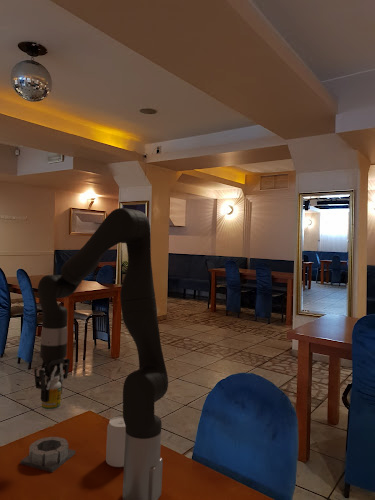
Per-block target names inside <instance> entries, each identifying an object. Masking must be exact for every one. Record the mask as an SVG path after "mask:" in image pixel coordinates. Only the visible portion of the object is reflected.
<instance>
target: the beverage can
mask: <svg viewBox="0 0 375 500" xmlns="http://www.w3.org/2000/svg"><path fill="white" fill-rule="evenodd" d="M125 431H126V426H125V423H124V419H123V416H116V417H113V418H111V419H109V422H108V424H107V430H106V448H105V449H106V451H105V462H106V463H107V465H109V466H111V467H115V468H124V452H125Z"/></svg>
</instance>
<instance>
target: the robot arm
mask: <svg viewBox="0 0 375 500" xmlns="http://www.w3.org/2000/svg"><path fill="white" fill-rule="evenodd" d="M151 239H152V238H151V225H150V221H149V218H148V216H147V214H145V213H144V212H143V211H141V210H137V209H131V208H126V207H119V208H115V209H113V210H112V211H111V212H110V213H108V215H107V216H106V217H105V218H104V220H103V221H102V222H101V223H100V225H99V226H98V227H97V229H96V230H95V231H94V233H93V234H92V235H91V236H90V238H89V239H88V240H87V241H86V243H85V244H84V245H83V246H82V247H81V248H80V249H79V250H78V251H77V252H76V253H74V255H72V256H71V257H70V258H69V259H68V260H66V261H65V263H64V264H63V265H62V266H61V269H60V273H61V274H48V275H44V276H42V277H41V279H40V280H39V282H38V285H37V294H38V298H39V302H40V307H41V311H42V324H41V325H42V326H41V332H40V333H41V334H40V348H39V349H40V350H39V351H40V353H39V357H40V359H42V363H41V367H39V368H35V369H34V385H35V389H37V390H38V389H39V390H40V401H41V403H42V402H48V401H49V387H50V383H51V382H52V381H53V378H54V376H55V375H59V382H60V383H61V395H62V392H63V383H64V381H65V379H67V378H68V375H69V368H70V363H71V359H70V358H67V355H68V354H67V352H68V309H67V307H65V306H61V305H59V303H58V300H57V299H62V298H63V299H64V298H67V297H69V296H71V295H73V294H74V293H75V291H76V290H77V289H78V287H79V286H80V284H81V282H82V281H84V279H86V278H87V277H88V276H90V275H91V274H92V273H93V272H94V270H96V269H97V267H98V265H99V264H100V262H101V259H102V257H103V256H104V254H105V253H106V252H107V251H108V250H110V249H111V248H113V247H115V246H116V245H118V244H125V245H126V251H127V268H126V271H125V275H124V277H123V281H122V285H121V287H120V293H119V294H120V297H119V298H120V307H121V315H122V320H123V323H124V325H125V327H126V329H127V331H128V333H129V334H130V337H131V338H132V340H133V341H134V343H135V346H136V349H137V355H138V367H139V369H136V370H134V371H132V372H130V373H129V374H128V375H127V376H126V378H125V380H124V383H123V386H122V389H123V390H122V417H123V419H124V423H125V426H126V431H125V452H124V467H123V479H122V480H123V481H122V500H159V498H160V497H161V495H162V488H163V487H162V486H163V485H162V483H163V458H162V457H161V443H162V441H161V440H162V427H163V426H162V419H161V418H160V417H159V415H156V414H155V403H156V402H158V401H159V400H161V399H162V398H163V397H165V395H166V393H167V391H168V388H169V377H168V372H167V367H166V363H165V357H164V354H163V348H162V343H161V336H160V334H161V333H160V327H159V321H158V310H157V309H158V308H157V300H156V293H155V285H154V276H153V275H154V274H153V268H152V267H153V266H152V250H151V249H152V247H151V244H152V243H151V242H152V240H151ZM45 376H48V377H49V378H46V377H45ZM46 381H47V384H46V385H45V382H46Z"/></svg>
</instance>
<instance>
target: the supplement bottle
mask: <svg viewBox="0 0 375 500" xmlns="http://www.w3.org/2000/svg"><path fill="white" fill-rule="evenodd" d="M45 377H46V378H49V377H48V376H45ZM46 384H47V381H45V385H46ZM61 402H62V394H61V383H60V382H59V375H55V376H54V378H53V381H52V382H51V383H50V387H49V401H48V402H42V401H41V409H42V410H43V411H47V412H53V411H54V412H55V411H57V410H59V409H60V407H61Z"/></svg>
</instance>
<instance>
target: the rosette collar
mask: <svg viewBox="0 0 375 500" xmlns="http://www.w3.org/2000/svg"><path fill="white" fill-rule="evenodd" d="M28 450H29V453H28V454H27V456H25V457H24V458H22V459H20V465H23V466H27V467H31V468H35V469H38V470H42V471H45V472H50V473H53V472H55V471H56V470H57V469H59V468H60V467H61V466H62V465H64V464H65V463H66V462H67V461H68V460H69V459H71V458H72V457H74V455H75V454H76V450H74V449H71V448H69V443H68V440H67V439H65V438H64V437H59V436H49V437H41V438H40V439H37V440H35V441H34V442H32V443H31V444H30V445H29V449H28Z"/></svg>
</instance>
